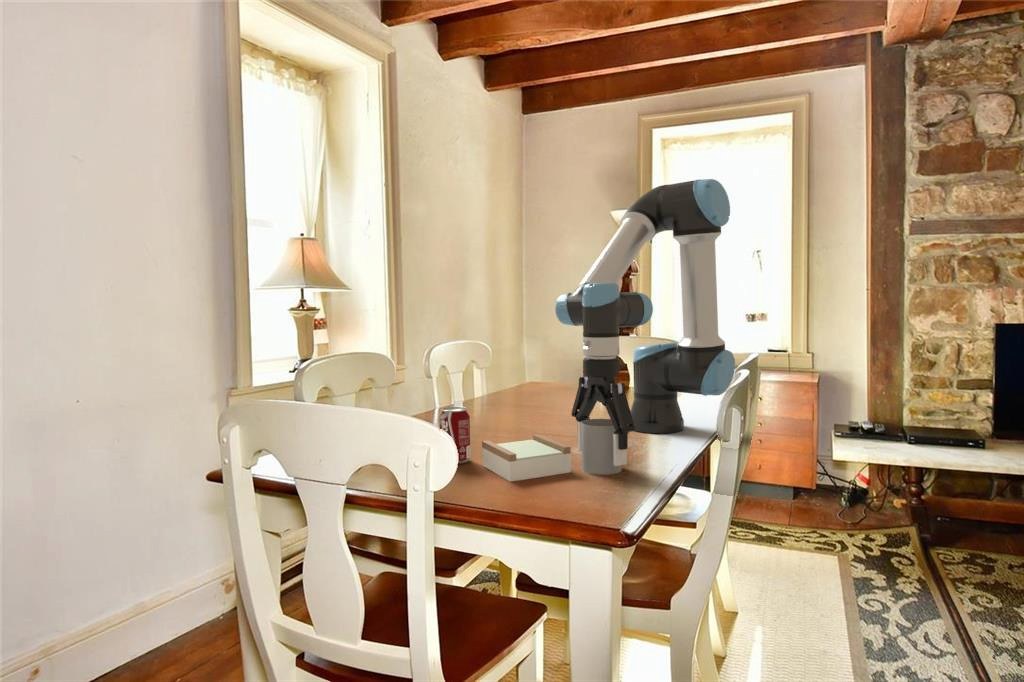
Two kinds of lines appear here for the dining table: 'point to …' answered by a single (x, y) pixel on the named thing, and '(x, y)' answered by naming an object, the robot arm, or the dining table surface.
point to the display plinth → (527, 458)
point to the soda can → (457, 429)
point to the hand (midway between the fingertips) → (601, 457)
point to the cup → (598, 447)
